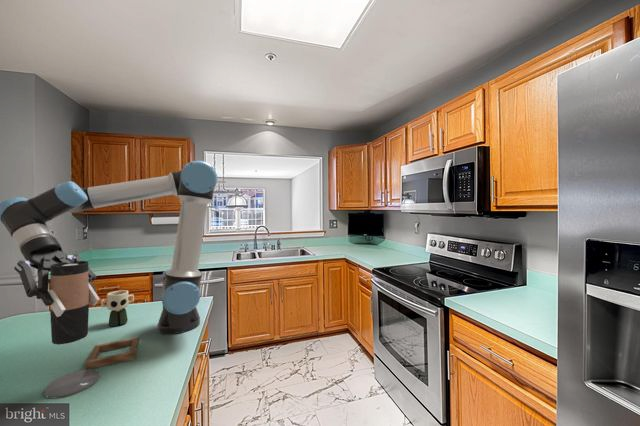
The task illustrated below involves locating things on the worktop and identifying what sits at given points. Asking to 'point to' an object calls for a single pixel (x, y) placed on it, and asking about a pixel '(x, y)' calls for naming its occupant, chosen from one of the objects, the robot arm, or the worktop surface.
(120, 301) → the character mug
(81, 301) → the travel mug
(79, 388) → the slate coaster
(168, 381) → the worktop surface
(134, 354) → the walnut frame
